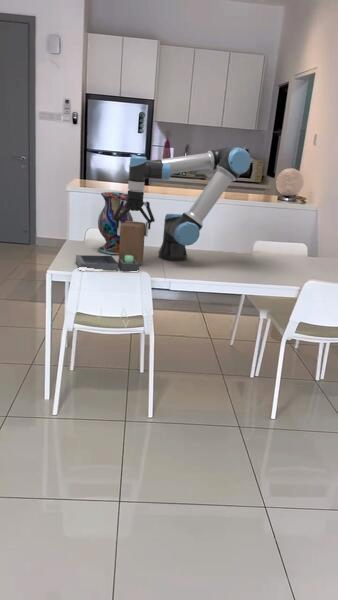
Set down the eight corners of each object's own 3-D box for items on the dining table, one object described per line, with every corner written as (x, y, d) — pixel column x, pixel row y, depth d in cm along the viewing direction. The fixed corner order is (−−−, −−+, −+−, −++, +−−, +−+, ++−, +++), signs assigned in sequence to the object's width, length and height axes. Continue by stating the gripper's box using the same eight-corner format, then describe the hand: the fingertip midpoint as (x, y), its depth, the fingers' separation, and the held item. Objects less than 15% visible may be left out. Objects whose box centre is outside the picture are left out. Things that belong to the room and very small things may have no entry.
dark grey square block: (134, 267, 231) (135, 259, 229) (138, 272, 223) (139, 263, 222) (117, 267, 228) (118, 259, 227) (121, 272, 221) (122, 263, 219)
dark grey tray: (111, 262, 235) (111, 255, 234) (117, 271, 222) (118, 263, 221) (75, 262, 229) (75, 255, 228) (80, 271, 216) (80, 263, 215)
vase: (97, 246, 265) (99, 190, 256) (130, 248, 268) (134, 193, 258) (95, 254, 248) (98, 195, 239) (131, 256, 251) (135, 197, 241)
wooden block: (138, 267, 231) (140, 225, 225) (117, 264, 233) (120, 223, 227) (143, 262, 241) (145, 222, 234) (123, 260, 242) (126, 220, 236)
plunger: (131, 265, 228) (132, 255, 226) (133, 267, 224) (134, 257, 222) (123, 265, 226) (123, 254, 225) (125, 267, 223) (125, 257, 221)
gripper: (158, 191, 233) (154, 234, 240) (107, 187, 225) (105, 232, 232) (163, 193, 226) (159, 238, 233) (111, 189, 218) (108, 236, 225)
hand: (132, 235), depth 232 cm, fingers open, 13 cm apart
